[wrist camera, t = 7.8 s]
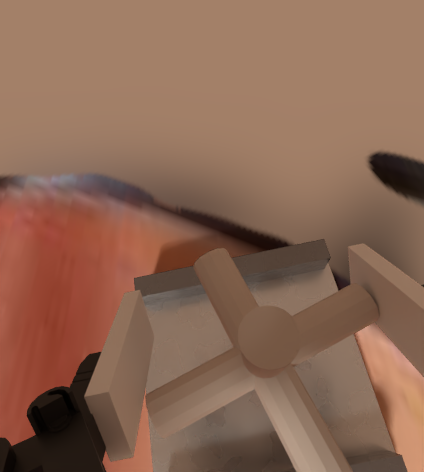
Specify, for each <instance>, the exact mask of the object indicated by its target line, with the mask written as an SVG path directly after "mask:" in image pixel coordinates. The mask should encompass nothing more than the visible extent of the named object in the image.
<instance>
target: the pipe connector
mask: <svg viewBox="0 0 424 472" xmlns="http://www.w3.org/2000/svg"><path fill="white" fill-rule="evenodd" d="M193 268H194V270H195V272H196V274H197V276H198V278H199V280H200V282H201V284H202V286H203V288H204V290H205V292H206V294H207V296H208V298H209V300H210V302H211V304H212V306H213V308H214V310H215V312H216V314H217V316H218V317H219V319H220V321H221V323H222V325H223V327H224V329H225V331H226V333H227V335H228V337H229V339H230V341H231V343H232V345H233V348H231V349H230V350H228V351H226V352H224V353H222V354H220V355H218V356H216V357H215V358H213V359H211V360H209V361H207V362H205V363H203V364H202V365H200V366H198V367H196V368H194V369H192V370H190V371H189V372H187V373H185V374H183V375H181V376H179V377H177V378H176V379H174V380H172V381H170V382H168V383H166V384H164V385H162V386H161V387H159V388H157V389H155V390H153V391H151V392H149V393H148V394H147V395H146V405H147V409H148V412H149V416H150V418H151V421H152V423H153V425H154V427H155V429H156V431H157V432H158V434H159V435H160V437H162V438H163V439H165V438H167V437H169V436H171V435H172V434H174V433H176V432H178V431H180V430H181V429H183V428H185V427H187V426H189V425H190V424H192V423H194V422H196V421H198V420H199V419H201V418H203V417H205V416H207V415H208V414H210V413H212V412H214V411H216V410H217V409H219V408H221V407H223V406H225V405H226V404H228V403H230V402H232V401H234V400H235V399H237V398H239V397H241V396H243V395H244V394H246V393H248V392H250V391H252V390H253V389H255V391H256V393H257V395H258V397H259V399H260V401H261V403H262V405H263V407H264V409H265V411H266V412H267V414H268V416H269V418H270V420H271V422H272V424H273V426H274V428H275V430H276V432H277V434H278V436H279V438H280V440H281V442H282V444H283V446H284V448H285V450H286V452H287V454H288V456H289V458H290V460H291V462H292V464H293V466H294V468H295V470H296V472H353V470H352V469H351V467H350V465H349V463H348V462H347V460H346V458H345V456H344V455H343V453H342V451H341V449H340V448H339V446H338V444H337V442H336V441H335V439H334V437H333V435H332V434H331V432H330V430H329V428H328V426H327V425H326V423H325V421H324V419H323V418H322V416H321V414H320V412H319V411H318V409H317V407H316V405H315V404H314V402H313V400H312V398H311V397H310V395H309V393H308V391H307V390H306V388H305V386H304V384H303V383H302V381H301V379H300V377H299V376H298V374H297V372H296V370H295V369H294V367H295V366H297V365H298V364H300V363H302V362H304V361H306V360H307V359H309V358H311V357H313V356H315V355H316V354H318V353H320V352H322V351H324V350H325V349H327V348H329V347H331V346H333V345H334V344H336V343H338V342H340V341H342V340H343V339H345V338H347V337H349V336H351V335H352V334H354V333H356V332H358V331H360V330H361V329H363V328H365V327H367V326H369V325H370V324H372V323H374V322H376V321H377V320H378V318H379V316H380V315H379V311H378V308H377V305H376V304H375V302H374V300H373V299H372V297H371V295H370V294H369V293H368V292H367V291H366V290H365V289H364V288H363V287H362V286H360V285H358V284H357V283H354V284H351V285H349V286H347V287H345V288H343V289H341V290H339V291H338V292H336V293H334V294H332V295H330V296H328V297H326V298H325V299H323V300H321V301H319V302H317V303H315V304H313V305H311V306H310V307H308V308H306V309H304V310H302V311H300V312H298V313H297V314H295V315H293V316H291V315H290V314H289V313H288V312H286V311H285V310H283V309H281V308H279V307H276V306H270V305H268V306H260V307H259V305H258V304H257V302H256V300H255V298H254V297H253V295H252V293H251V291H250V290H249V288H248V286H247V284H246V283H245V281H244V279H243V277H242V276H241V274H240V272H239V270H238V269H237V267H236V265H235V263H234V262H233V260H232V258H231V256H230V255H229V253H228V251H227V250H226V249H225V248H217V249H214V250H212V251H209V252H207V253H205V254H204V255H202V256H201V257H199V258H198V259H197V261H196V262H195V263H194V267H193Z"/></svg>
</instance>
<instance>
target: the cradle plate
mask: <svg viewBox="0 0 424 472" xmlns="http://www.w3.org/2000/svg"><path fill="white" fill-rule="evenodd" d="M330 258H331V257H330V254H329V252H328V249H327V246H326V243H325V241H324V239H321V240H317V241H312V242H307V243H302V244H297V245H292V246H287V247H283V248H278V249H273V250H268V251H263V252H258V253H253V254H249V255H244V256H239V257H234V258H232V260H233V262H234V263H235V265H236V267H237V269H238V270H239V272H240V274H241V276H242V277H243V279H244V281H245V283H246V284H247V286H248V288H249V290H250V291H251V293H252V295H253V297H254V298H255V300H256V302H257V304H258V305H259V307H260V306H268V305H270V306H276V307H279V308H281V309H283V310H285V311H286V312H288V313H289V314H290V315H291V316H293V315H295V314H297V313H298V312H300V311H302V310H304V309H306V308H308V307H310V306H311V305H313V304H315V303H317V302H319V301H321V300H323V299H325V298H326V297H328V296H330V295H332V294H334V293H336V292H338V288H337V285H336V283H335V280H334V277H333V274H332V271H331V268H330V266H329V263H328V262H329V260H330ZM193 267H194V266H190V267H185V268H181V269H176V270H171V271H166V272H161V273H156V274H151V275H147V276H142V277H137V278H134V284H135V291H137V290H140V291H141V295H142V298H143V301H144V304H145V308H146V311H147V314H148V318H149V321H150V324H151V327H152V331H153V334H154V342H153V348H152V354H151V360H150V365H149V371H148V377H147V382H146V395H147V394H148V393H149V392H151V391H153V390H155V389H157V388H159V387H161V386H162V385H164V384H166V383H168V382H170V381H172V380H174V379H176V378H177V377H179V376H181V375H183V374H185V373H187V372H189V371H190V370H192V369H194V368H196V367H198V366H200V365H202V364H203V363H205V362H207V361H209V360H211V359H213V358H215V357H216V356H218V355H220V354H222V353H224V352H226V351H228V350H230V349H231V348H233V345H232V343H231V341H230V339H229V337H228V335H227V333H226V331H225V329H224V327H223V325H222V323H221V321H220V319H219V317H218V316H217V314H216V312H215V310H214V308H213V306H212V304H211V302H210V300H209V298H208V296H207V294H206V292H205V290H204V288H203V286H202V284H201V282H200V280H199V278H198V276H197V274H196V272H195V270H194V268H193ZM294 369H295V370H296V372H297V374H298V376H299V377H300V379H301V381H302V383H303V384H304V386H305V388H306V390H307V391H308V393H309V395H310V397H311V398H312V400H313V402H314V404H315V405H316V407H317V409H318V411H319V412H320V414H321V416H322V418H323V419H324V421H325V423H326V425H327V426H328V428H329V430H330V432H331V434H332V435H333V437H334V439H335V441H336V442H337V444H338V446H339V448H340V449H341V451H342V453H343V455H344V456H345V458H346V460H347V462H348V463H349V465H350V467H351V469H352V470H353V472H407V469H406V466H405V463H404V461H403V458H402V455H400V454H397V453H396V452H395V450H394V447H393V444H392V441H391V438H390V435H389V433H388V430H387V427H386V424H385V421H384V418H383V416H382V413H381V410H380V407H379V404H378V401H377V399H376V396H375V393H374V390H373V387H372V384H371V382H370V379H369V376H368V373H367V370H366V367H365V365H364V362H363V359H362V356H361V353H360V350H359V348H358V345H357V342H356V339H355V336H354V334H352V335H351V336H349V337H347V338H345V339H343V340H342V341H340V342H338V343H336V344H334V345H333V346H331V347H329V348H327V349H325V350H324V351H322V352H320V353H318V354H316V355H315V356H313V357H311V358H309V359H307V360H306V361H304V362H302V363H300V364H298V365H297V366H295V367H294ZM148 418H149V429H150V440H151V451H152V463H153V472H296V470H295V468H294V466H293V464H292V462H291V460H290V458H289V456H288V454H287V452H286V450H285V448H284V446H283V444H282V442H281V440H280V438H279V436H278V434H277V432H276V430H275V428H274V426H273V424H272V422H271V420H270V418H269V416H268V414H267V412H266V411H265V409H264V407H263V405H262V403H261V401H260V399H259V397H258V395H257V393H256V391H255V389H253V390H252V391H250V392H248V393H246V394H244V395H243V396H241V397H239V398H237V399H235V400H234V401H232V402H230V403H228V404H226V405H225V406H223V407H221V408H219V409H217V410H216V411H214V412H212V413H210V414H208V415H207V416H205V417H203V418H201V419H199V420H198V421H196V422H194V423H192V424H190V425H189V426H187V427H185V428H183V429H181V430H180V431H178V432H176V433H174V434H172V435H171V436H169V437H167V438H165V439H163V438H162V437H160V435H159V434H158V432H157V431H156V429H155V427H154V425H153V423H152V421H151V418H150V416H149V412H148Z"/></svg>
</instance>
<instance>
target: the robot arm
mask: <svg viewBox="0 0 424 472" xmlns="http://www.w3.org/2000/svg"><path fill="white" fill-rule="evenodd" d="M348 255H349V268H350V281H351V284H354V283H357V284H358V285H360V286H362V287H363V288H364V289H365V290H366V291H367V292H368V293H369V294H370V295H371V297H372V299H373V300H374V302H375V304H376V305H377V308H378V311H379V315H380V316H379V318H378V320H377V321H376V322H375V323H376V324H377V325H378V326H379V328H380V329H381V330H382V331H383V332H384V333H385V334H386V335H387V337H388V338H389V339H390V340H391V341H392V342H393V343H394V344H395V346H396V347H397V348H398V349H399V350H400V351H401V352H402V353H403V354H404V356H405V357H406V358H407V359H408V360H409V361H410V362H411V363H412V365H413V366H414V367H415V368H416V369H417V370H418V371H419V372H420V374H421V375H422V376H423V377H424V285H420V284H418V283H417V282H416V281H414V280H413V279H412V278H410V277H409V276H407V275H406V274H405V273H403V272H402V271H401V270H399V269H398V268H397V267H395V266H394V265H393V264H391V263H390V262H388V261H387V260H385V259H384V258H383V257H382V256H380V255H379V254H378V253H376V252H375V251H373V250H372V249H371V248H369V247H368V246H366V245H365V244H364V243H363V244H358V245H353V246H348ZM153 342H154V334H153V331H152V327H151V324H150V321H149V318H148V314H147V311H146V308H145V304H144V301H143V298H142V295H141V291H140V290H137V291H132V292H127V293H124V296H123V298H122V301H121V304H120V306H119V309H118V311H117V314H116V316H115V319H114V321H113V324H112V327H111V329H110V332H109V334H108V337H107V339H106V342H105V344H104V347H103V350H102V352H98V353H93V354H89V355H88V356H87V357H86V358H85V359H84V361H83V362H82V363H81V364H80V366H79V368H78V370H77V372H76V375H75V377H74V379H73V381H72V384H71V386H70V388H69V387H64V386H61V387H55V388H53V389H50V390H48V391H46V392H44V393H43V394H41V395H40V396H38V397H37V398H36V399H35V400H34V401H33V402H32V403H31V405H30V406H29V408H28V410H27V417H28V419H29V421H30V423H31V425H32V427H33V429H34V431H35V434H36V435H35V436H33V437H31V438H29V439H27V440H24V441H22V442H20V443H18V444H16V445H13V446H11V444H10V443H9V441H8V440H7V439H6V438H0V472H106V470H105V468H104V465H103V463H102V461H103V457H104V454H105V450H106V452H107V454H108V456H109V459H110V461H111V462H112V461H117V460H122V459H127V458H132V457H133V456H134V451H135V445H136V439H137V434H138V428H139V422H140V417H141V411H142V405H143V399H144V394H145V388H146V382H147V377H148V371H149V365H150V360H151V354H152V348H153Z"/></svg>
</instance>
